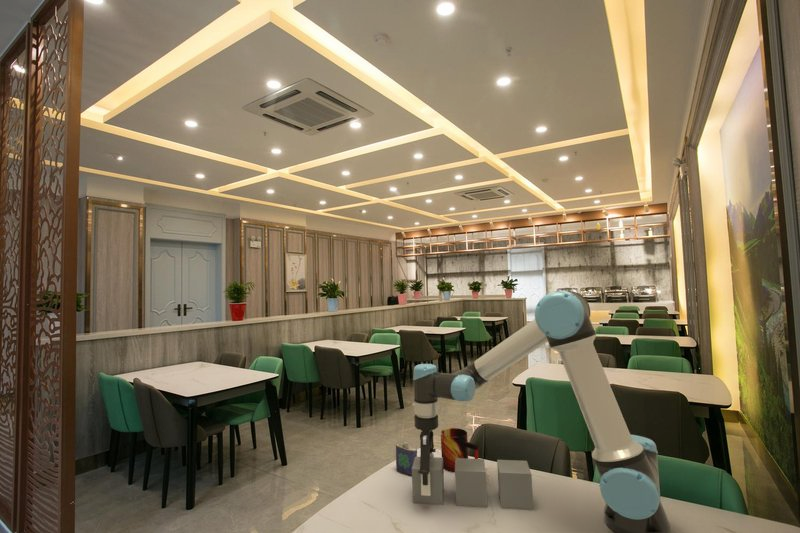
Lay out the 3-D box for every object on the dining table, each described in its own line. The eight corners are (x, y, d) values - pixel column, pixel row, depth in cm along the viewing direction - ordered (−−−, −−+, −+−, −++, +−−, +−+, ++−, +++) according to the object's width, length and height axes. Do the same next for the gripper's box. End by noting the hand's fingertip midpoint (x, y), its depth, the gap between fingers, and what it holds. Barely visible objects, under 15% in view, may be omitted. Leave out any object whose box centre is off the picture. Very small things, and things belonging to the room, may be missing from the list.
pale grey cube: (528, 493, 121) (526, 460, 122) (533, 509, 112) (531, 474, 113) (498, 492, 123) (497, 459, 123) (501, 508, 114) (499, 472, 114)
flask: (419, 475, 136) (418, 443, 137) (414, 478, 134) (412, 446, 135) (399, 468, 142) (398, 437, 143) (393, 471, 140) (392, 440, 140)
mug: (479, 475, 135) (477, 439, 135) (439, 471, 139) (438, 436, 139) (481, 463, 144) (480, 430, 145) (444, 459, 148) (443, 427, 149)
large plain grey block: (444, 489, 125) (443, 457, 126) (442, 504, 116) (441, 470, 117) (416, 488, 127) (415, 456, 127) (412, 503, 118) (411, 468, 119)
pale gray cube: (485, 491, 123) (484, 459, 124) (487, 507, 114) (485, 472, 115) (456, 490, 125) (455, 458, 125) (456, 505, 116) (454, 470, 116)
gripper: (418, 403, 136) (420, 465, 135) (408, 427, 112) (410, 504, 110) (440, 403, 135) (442, 466, 134) (435, 428, 110) (437, 506, 109)
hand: (428, 483), depth 122 cm, fingers open, 13 cm apart
